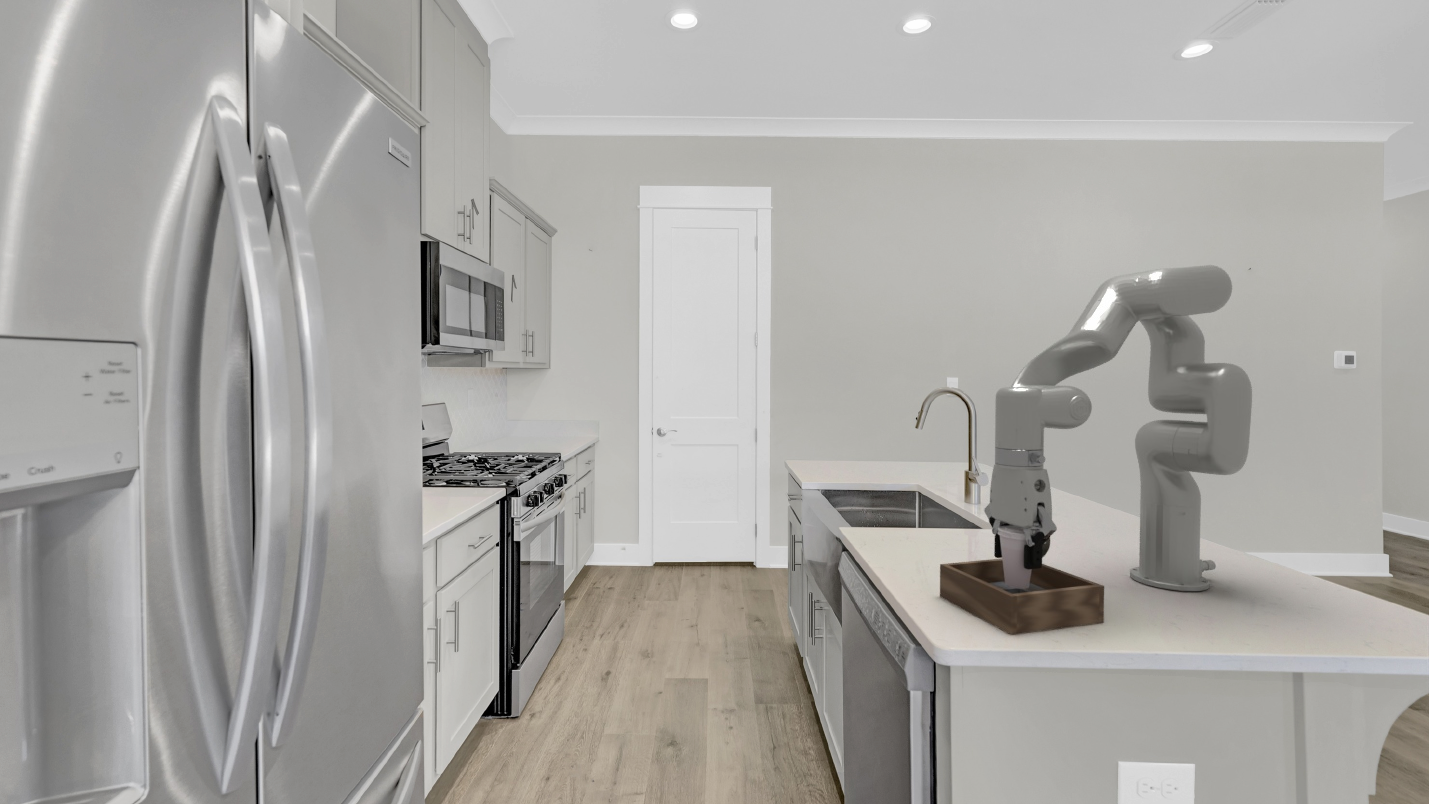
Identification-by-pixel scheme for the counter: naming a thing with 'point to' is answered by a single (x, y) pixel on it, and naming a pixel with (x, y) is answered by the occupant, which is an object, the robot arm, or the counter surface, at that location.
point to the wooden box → (1022, 597)
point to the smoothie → (1014, 556)
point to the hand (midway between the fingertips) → (1017, 561)
